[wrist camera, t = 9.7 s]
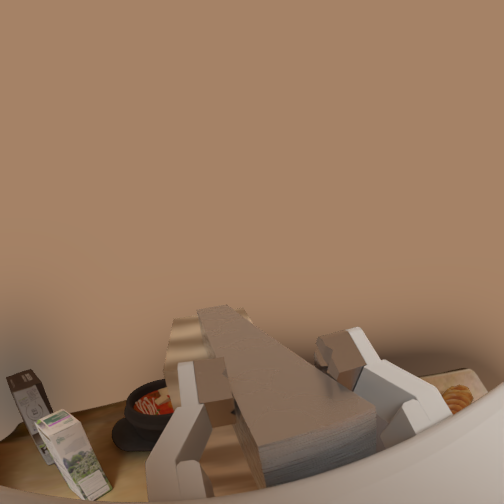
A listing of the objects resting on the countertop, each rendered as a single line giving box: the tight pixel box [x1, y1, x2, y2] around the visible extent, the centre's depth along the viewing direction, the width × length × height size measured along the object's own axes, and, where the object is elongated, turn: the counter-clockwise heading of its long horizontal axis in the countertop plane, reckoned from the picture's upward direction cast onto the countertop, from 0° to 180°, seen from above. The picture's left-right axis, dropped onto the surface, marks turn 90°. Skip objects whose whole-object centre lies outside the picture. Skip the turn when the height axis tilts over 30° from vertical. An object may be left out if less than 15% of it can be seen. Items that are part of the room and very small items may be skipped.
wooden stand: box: [163, 308, 259, 497], centre depth 33 cm, size 16×9×26 cm, turn 10°
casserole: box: [112, 379, 174, 451], centre depth 52 cm, size 25×19×8 cm
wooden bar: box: [197, 305, 376, 489], centre depth 18 cm, size 25×3×3 cm, turn 13°
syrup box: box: [34, 409, 112, 501], centre depth 33 cm, size 6×6×14 cm
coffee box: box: [6, 369, 55, 465], centre depth 42 cm, size 9×6×16 cm
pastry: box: [442, 385, 473, 415], centre depth 42 cm, size 9×7×4 cm
